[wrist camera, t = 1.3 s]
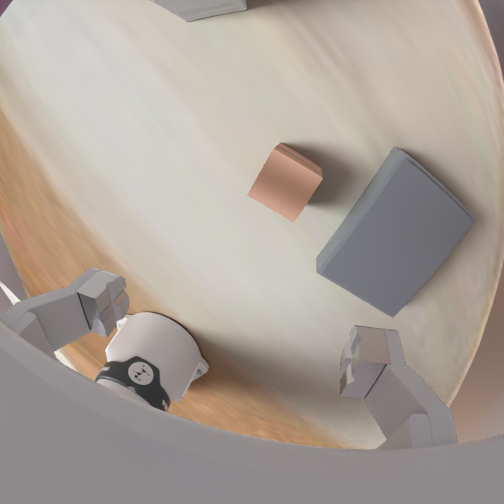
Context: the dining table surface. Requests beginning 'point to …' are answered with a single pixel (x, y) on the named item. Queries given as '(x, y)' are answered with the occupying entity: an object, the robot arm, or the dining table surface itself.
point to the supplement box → (201, 7)
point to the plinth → (395, 235)
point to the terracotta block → (286, 182)
